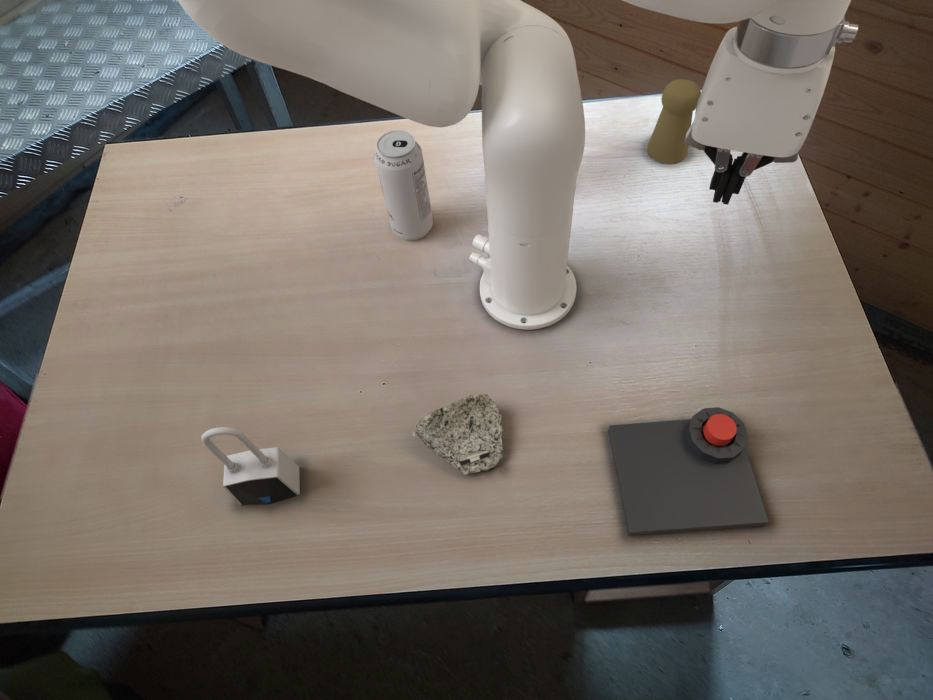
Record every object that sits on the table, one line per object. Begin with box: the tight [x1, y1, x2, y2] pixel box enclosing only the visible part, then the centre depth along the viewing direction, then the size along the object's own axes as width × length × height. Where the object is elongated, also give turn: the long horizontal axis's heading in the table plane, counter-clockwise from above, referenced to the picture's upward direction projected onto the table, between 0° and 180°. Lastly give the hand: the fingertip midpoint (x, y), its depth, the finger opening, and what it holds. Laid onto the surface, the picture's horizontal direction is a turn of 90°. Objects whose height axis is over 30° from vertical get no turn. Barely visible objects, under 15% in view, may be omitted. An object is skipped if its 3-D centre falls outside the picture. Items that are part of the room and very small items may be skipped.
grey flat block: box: [607, 406, 770, 537], centre depth 66 cm, size 14×12×3 cm
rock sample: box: [412, 392, 506, 476], centre depth 69 cm, size 10×8×9 cm
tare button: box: [703, 414, 737, 446], centre depth 66 cm, size 3×3×2 cm
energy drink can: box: [374, 129, 434, 241], centre depth 83 cm, size 6×6×15 cm
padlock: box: [200, 426, 301, 506], centre depth 63 cm, size 7×4×15 cm, turn 99°
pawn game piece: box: [646, 78, 702, 165], centre depth 89 cm, size 6×6×11 cm
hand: (721, 194), depth 67 cm, fingers closed
